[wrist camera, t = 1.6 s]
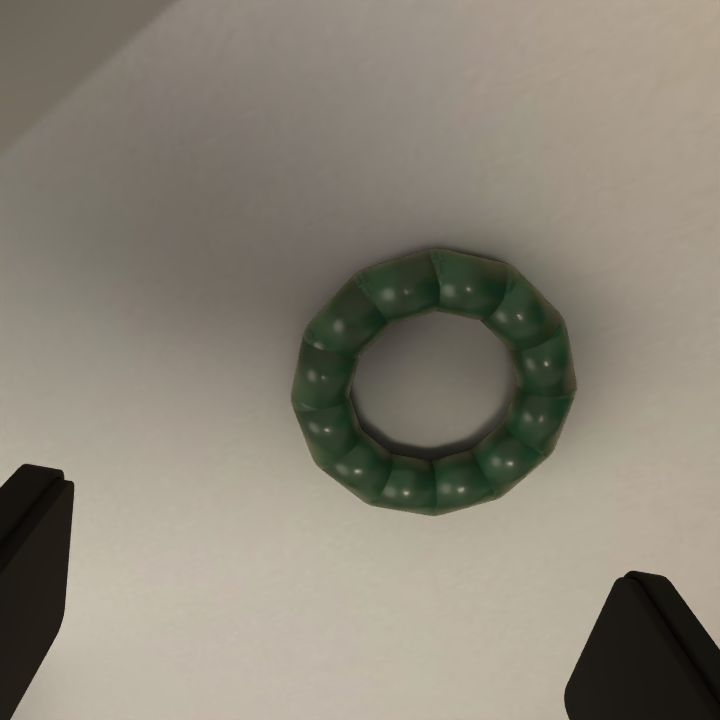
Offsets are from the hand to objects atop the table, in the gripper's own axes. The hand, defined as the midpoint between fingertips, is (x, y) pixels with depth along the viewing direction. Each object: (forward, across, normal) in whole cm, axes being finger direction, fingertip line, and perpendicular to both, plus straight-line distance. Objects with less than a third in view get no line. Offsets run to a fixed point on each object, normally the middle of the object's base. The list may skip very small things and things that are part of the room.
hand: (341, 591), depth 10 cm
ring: (+9, -3, 0) cm, 10 cm away
